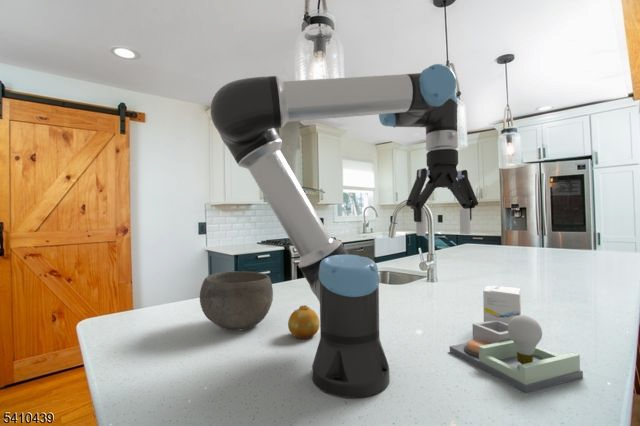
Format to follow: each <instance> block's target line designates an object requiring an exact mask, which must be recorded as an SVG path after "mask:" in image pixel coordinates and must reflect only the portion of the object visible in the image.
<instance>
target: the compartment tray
mask: <svg viewBox="0 0 640 426" xmlns="http://www.w3.org/2000/svg"><path fill="white" fill-rule="evenodd" d="M472 340H481V341H486V342H489V343H491V344H488V345H483V346H479V354H476V353H473V352H471V351H469V350H468V349H467V342H465V343H460V344H456V345H455V344H454V345H449V352H450V353H452V354H453V355H455V356H456V357H457V356H458V357H459V358H461V359H463V360H465V361H467V362H469V363H471V365H474V366H476V367H478V368H480V369H481V370H483V371H485V372H487V373H489V374H491V375H493V376H495V377H497V378H498V379H500V380H502V381H503V382H506V383H507V384H509V385H511V386H513V387H515V388H517V389H518V390H520V391H522V392H523V393H530V392H533V391H537V390H542V389H545V388H550V387H553V386H557V385H559V384H563V383H567V382H570V381H575V380H578V379H582V378H584V372H583V370H581V359H580V358H581V357H580V354H579V353H578V354H577V353H575V352H571V353H565V354H562V355H560V354H557V353H556V352H553V351H550V350H547V349H544V348H542V347H540V346H537V345H536V347H535V351H534V353H533V362H530V363H526V364H521V363H520V362H518V359H517V350H516V348H515V344H514V342H513V340H512V339H511V337H510V336H509V333H508V324H507V323H504V322H501V321H498V320H493V321H487V322H484V321H481V322H477V323H476V322H475V323H472Z"/></svg>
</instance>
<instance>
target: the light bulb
mask: <svg viewBox="0 0 640 426" xmlns="http://www.w3.org/2000/svg"><path fill="white" fill-rule="evenodd" d="M508 333H509V336H510V337H511V339H512V340H513V342H514V344H515V348H516V350H517V359H518V362H520V363H521V364H526V363H530V362H533V353H534V351H535V347H536V346H537V345H538V344H539V343H540V342H541V340H542V338H543V337H542V336H543V330H542V326H541V325H540V324H539V322H538V321H537V320H536V319H535V318H533V317H531V316H529V315H526V314H521V315H518V316H515V317H513V318H512V319H511V320H510V321H509V323H508Z"/></svg>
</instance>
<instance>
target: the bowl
mask: <svg viewBox="0 0 640 426" xmlns="http://www.w3.org/2000/svg"><path fill="white" fill-rule="evenodd" d="M200 287H201V288H200V291H199V305H200V308H201V311H202V312H203V314H204V316H205V317H206V318H207V319H208V321H211V322H212V323H213V324H215V325H216V326H218V327H220V328H222V329H224V330H227V331H243V330H247V329H250V328H253V327H254V326H256V325H258V324H259V323H261V322H262V321H263V320H264V319H265V318H266V317H267V315H268V313H269V311H270V309H271V306H272V303H273V298H274V290H273V284H272V279H271V278H270V276H269V275H268V274H267V273H262V272H255V271H245V270H244V271H240V270H239V271H237V270H236V271H235V270H234V271H233V270H232V271H231V270H230V271H223V272H215V273H212V274H209V275H207V276H206V277H205V278H204V280H203V281H202V285H201V286H200Z"/></svg>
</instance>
